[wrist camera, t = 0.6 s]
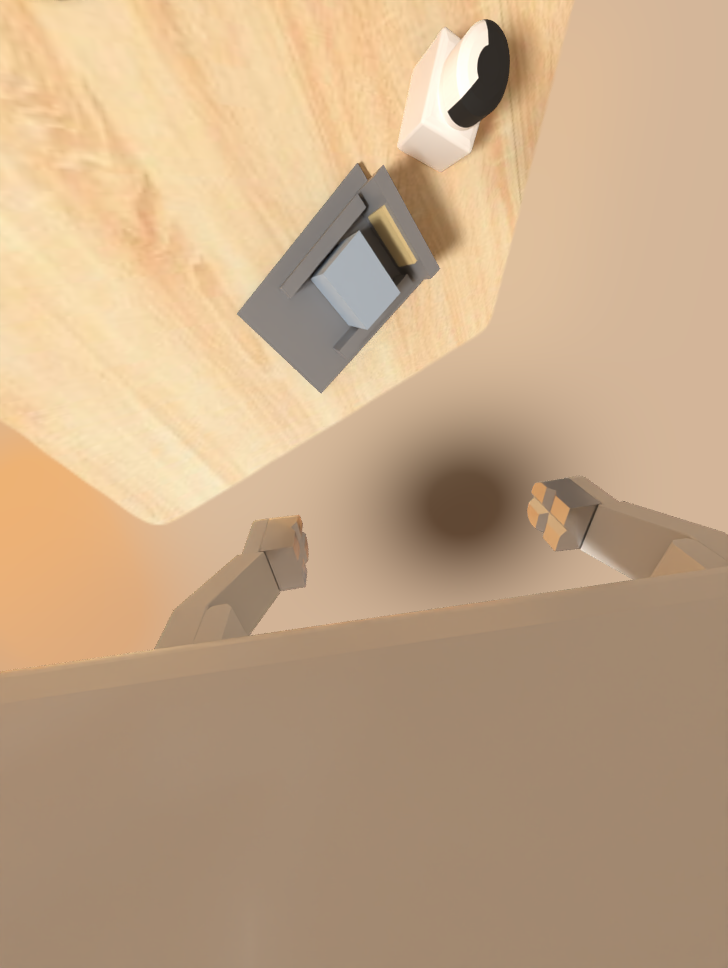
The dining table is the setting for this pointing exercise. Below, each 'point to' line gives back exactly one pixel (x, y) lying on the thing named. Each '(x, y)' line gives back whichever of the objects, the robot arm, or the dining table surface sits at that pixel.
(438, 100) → the medicine bottle
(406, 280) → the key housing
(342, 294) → the key block
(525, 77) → the dining table surface
